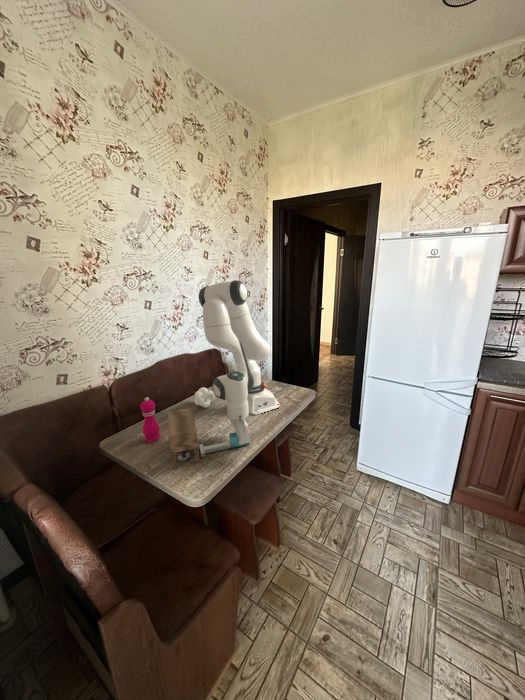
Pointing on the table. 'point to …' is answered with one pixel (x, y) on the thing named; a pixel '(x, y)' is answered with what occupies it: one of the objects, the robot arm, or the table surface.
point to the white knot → (204, 397)
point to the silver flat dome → (183, 456)
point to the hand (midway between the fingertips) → (239, 440)
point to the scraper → (222, 445)
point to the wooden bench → (182, 433)
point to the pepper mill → (150, 421)
